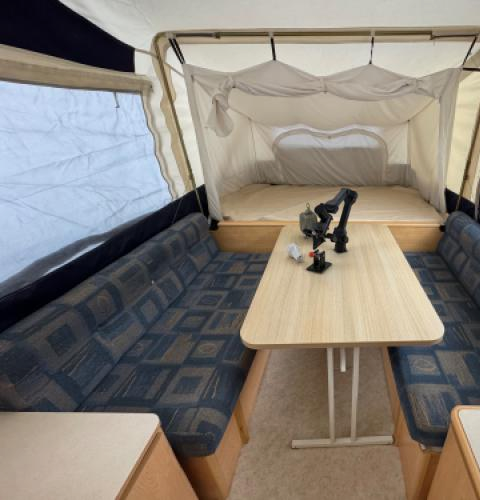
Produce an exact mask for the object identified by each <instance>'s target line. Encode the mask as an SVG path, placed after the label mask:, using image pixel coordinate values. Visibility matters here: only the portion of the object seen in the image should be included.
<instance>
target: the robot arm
mask: <svg viewBox="0 0 480 500" xmlns="http://www.w3.org/2000/svg"><path fill="white" fill-rule="evenodd" d="M358 197H359V193H358V192H357V190H354V189H352V188H351V189H350V188H349V187H341V188H340V190H339V191H338V192H337V194H336V195H335V196H334V197H333V198H331V199H329V200H327V201H326V202H320V203H319V204H317V205H316V206H315V207H314V209H313V212H314V213H315V214H316V215H317V218H318V219H319V221H318V222H317V223H312V224H311V229H314V231H315V232H313V231H312V230H311V229H308V228H304V229H303V231H302V232H303V233H304V234H305V235H304V234H303V233H302V232H301V233H302V234H303V235H304V236H307V238H312V250H313V251H315V250H317V249H319V247H320V246H321V245H322V244H324V243H326V242H327V239H328V240H329V241H330V242H331V243H334V248H333V250H334V251H335V252H336V253H338V254H342V253H346V252H348V250H347V244H348V243H349V241H350V237H349V236H348V231H347V225H348V221H349V217H350V214H351V210H352V207H353V205H354V204H355V203H356V202H357V199H358ZM342 203H343V207H342V211H341V213H340V218H339V221H338V225H337V226H335V227H334V228H333V232H332V233H331V232H328V231H329V230H330V225H331V223H332V221H334V217H333V215H336V214H337V213H338V212H339V210H340V205H341V204H342Z"/></svg>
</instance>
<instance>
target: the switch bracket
mask: <svg viewBox="0 0 480 500" xmlns="http://www.w3.org/2000/svg"><path fill="white" fill-rule="evenodd" d="M313 252H314V253H317V252H321V253H320V257H317V256H314V257H312V259H313V263H311V264H310V265H308V266H307V267H306V271H309V272H313V273H315V274H320V275H322V274H323V273H324V272H325V271H326V270H328V269H329V268H331V266H332V264H333V263H332V262H330V261H326V250H322V251H320V249H319V248H317V249H315V250H313Z"/></svg>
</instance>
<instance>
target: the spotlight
mask: <svg viewBox="0 0 480 500" xmlns="http://www.w3.org/2000/svg"><path fill="white" fill-rule="evenodd" d="M300 250H301V247H300V246H299V245H298V244H297V243H294V242H293V243H289V244H288V245H287V247H286V248H285V253H286V254H287V256H288V257H290V258H293V259H294V260H295V262H297V263H302V262H303V261H304V259H305V256H304V255H303V254H302V252H301V251H300Z"/></svg>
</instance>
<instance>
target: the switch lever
mask: <svg viewBox="0 0 480 500" xmlns="http://www.w3.org/2000/svg"><path fill="white" fill-rule="evenodd" d="M321 252H322V251H319V252H317V253H314V251H310V252H309V253H308V256H309V257H310V258H311V259H313V257H314V256H317V257H319V258H320V253H321Z"/></svg>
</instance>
